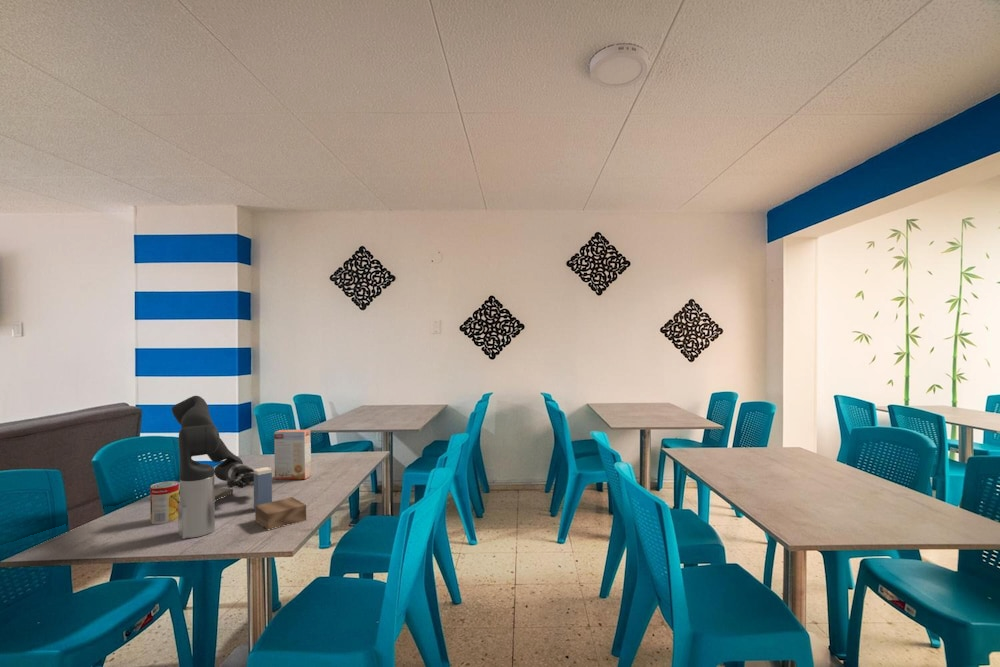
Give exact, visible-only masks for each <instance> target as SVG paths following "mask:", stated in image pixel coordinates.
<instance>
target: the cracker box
mask: <svg viewBox="0 0 1000 667" xmlns="http://www.w3.org/2000/svg"><path fill="white" fill-rule="evenodd" d="M273 437H274V438H273V440H274V442H273V443H274V447H273V448H274V449H273V450H274V452H273V453H274V480H301V479H304V480H307V479H308V478H310V477H311V476H312V454H311V453H312V448H311V447H312V446H311V444H312V443H311V441H312V440H311V429H280V430H276V431H274V436H273Z"/></svg>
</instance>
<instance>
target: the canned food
mask: <svg viewBox="0 0 1000 667" xmlns="http://www.w3.org/2000/svg"><path fill="white" fill-rule="evenodd" d="M149 488H150V489H149V490H150V504H149V505H150V506H149V507H150V510H149V511H150V524H151V523H152V525H163V523H165V524H168V522H169V523H172V522H175V521H177V520H178V503H179V499H180V481H178V480H170V481H169V480H167V481H162V482H161V481H160V482H158V483H157V482H156V483H154V484H151V485H150V487H149ZM176 519H177V520H176ZM174 520H175V521H174ZM171 521H172V522H171Z"/></svg>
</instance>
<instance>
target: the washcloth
mask: <svg viewBox="0 0 1000 667" xmlns="http://www.w3.org/2000/svg"><path fill="white" fill-rule="evenodd" d="M230 493H232V494H233V493H234V488H229V487H228V488H226V487H225V488H214V501H215V500H217V499H219V498H221V497H224V496H226V495H228V494H230ZM228 496H229V495H228ZM226 497H227V496H226ZM224 498H225V497H224ZM179 503H180V498H179Z"/></svg>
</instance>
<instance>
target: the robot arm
mask: <svg viewBox="0 0 1000 667" xmlns="http://www.w3.org/2000/svg"><path fill="white" fill-rule="evenodd" d="M171 412H172V414H173V417H174V418H175V420H176V421H177V423H178V424H179V425H180V428H181V429H180V431H179V433H178V454H179V499H180V503H178V519H177V524H178V525H177V529H178V530H177V533H178V534H177V535H179V537H180V538H181V539H182V540H183V539H191V538H197V537H202V536H205V535H208V534H210V533H212V532H214V531H215V528H216V526H215V525H216V521H215V519H216V516H215V515H216V514H215V508H216V507H215V502H214V489H215V477H216V478H217V479H219V480H221V481H223V482H226V486H227V487H228V489H229V488H230V489H233V488H234V487H235V488H239V489H243V488H244V487H247V486H249V485H251V484H254V469H253V468H252V467H250V466H248V465H246V464H244V463H243V460H242V459H241V458H240V457H239V456H237V455H236V454H234V453H233V452H232V451H231V450H229V448H228V447H227V446H226V444H225V442H224V440H222V439H221V437H220V432H219V430H218V427H217V426H216V425H215V424H214V422H213V420H212V416H211V415H210V409H209V406H208V404H207V402H206V400H205V399H204V398H203V397H201V396H200V395H192V396H191V397H188V398H186V399H184V400H182V401H180V402H179V403H176V404H174V405H173V406H172V407H171ZM204 455H205V456H206V455H207V456H208V458H209V459H210V461H211V462H213V463H218V464H217V465H216V466H215V467H214V466H213V465H212V464H208V463H202V462H197V461H195V460H194V459H193V458H192V457H197V456H204Z"/></svg>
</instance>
